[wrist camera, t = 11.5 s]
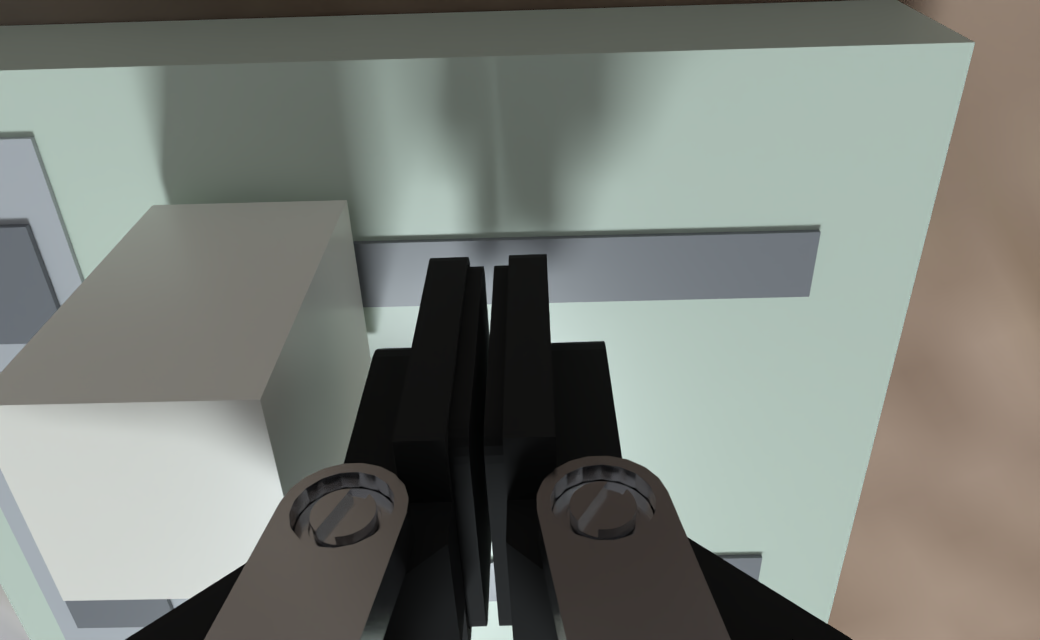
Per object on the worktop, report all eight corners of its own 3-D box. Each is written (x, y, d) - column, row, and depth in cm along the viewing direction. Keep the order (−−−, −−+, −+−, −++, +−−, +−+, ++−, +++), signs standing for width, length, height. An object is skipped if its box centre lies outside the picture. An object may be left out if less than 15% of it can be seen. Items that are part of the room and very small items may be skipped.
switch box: (895, -1, 14) (982, 46, 12) (748, 738, 26) (774, 848, 23) (-131, 29, 15) (-280, 81, 12) (176, 746, 26) (136, 856, 24)
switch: (346, 199, 13) (260, 400, 9) (371, 361, 14) (308, 596, 10) (152, 204, 13) (-30, 406, 9) (198, 364, 14) (63, 601, 10)
